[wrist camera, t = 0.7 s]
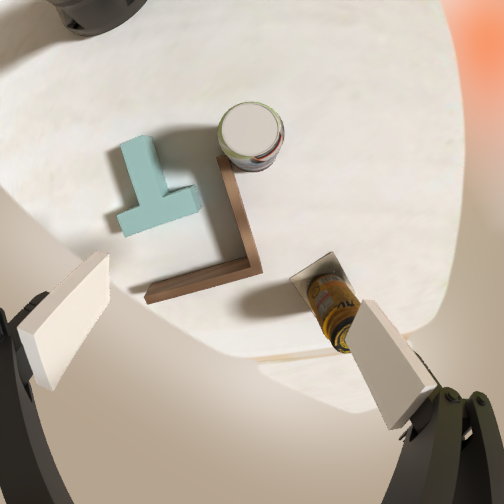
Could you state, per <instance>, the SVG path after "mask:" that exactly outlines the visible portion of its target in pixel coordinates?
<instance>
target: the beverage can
mask: <svg viewBox="0 0 504 504" xmlns="http://www.w3.org/2000/svg"><path fill="white" fill-rule="evenodd" d="M217 134H218V141H219V144H220V146H221V148H222V150H223V151H224V153H225V154H226V155H227V156H228V157H229V158H230V160H231V161H232V162H233V163H234V164H235V165H236V166H237V167H238V168H240V169H241V170H244V171H247V172H259V171H263V170H265V169H267V168H268V167H269V166H270V165H272V163H273V162H274V161H275V159H276V157H277V155H278V152H279V150H280V148H281V146H282V144H283V141H284V134H285V132H284V125H283V122H282V120H281V118H280V116H279V115H278V114H277V113H276V112H275V111H274V110H273V109H272V108H270V107H269V106H267V105H265V104H262V103H258V102H244V103H240V104H238V105H236V106H234V107H232V108H231V109H229V110H228V111H227V112H226V113H225V114H224V116H223V117H222V119H221V121H220V123H219V126H218V133H217Z"/></svg>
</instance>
